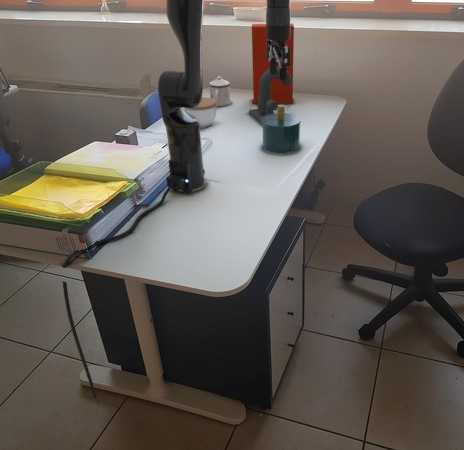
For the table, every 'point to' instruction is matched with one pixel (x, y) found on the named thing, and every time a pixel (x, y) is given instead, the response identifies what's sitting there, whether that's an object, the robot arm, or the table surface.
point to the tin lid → (281, 119)
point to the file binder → (262, 64)
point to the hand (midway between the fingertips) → (278, 76)
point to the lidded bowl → (204, 111)
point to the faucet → (267, 95)
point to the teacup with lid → (220, 91)
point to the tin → (281, 139)
